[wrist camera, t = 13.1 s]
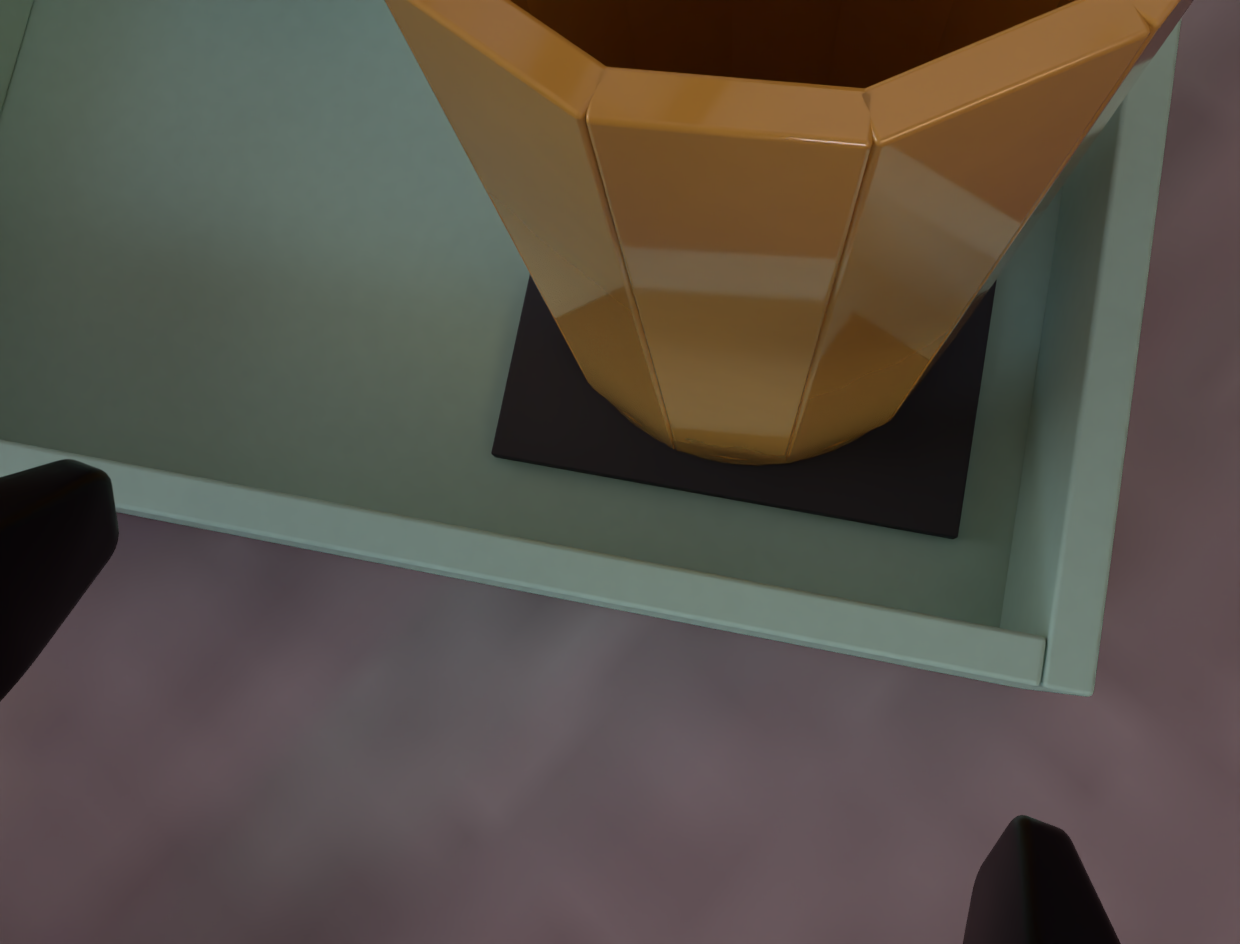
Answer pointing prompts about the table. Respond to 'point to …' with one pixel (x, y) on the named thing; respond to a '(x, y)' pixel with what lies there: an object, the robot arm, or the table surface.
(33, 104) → the green tray
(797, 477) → the mat
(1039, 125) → the cup
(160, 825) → the table surface
